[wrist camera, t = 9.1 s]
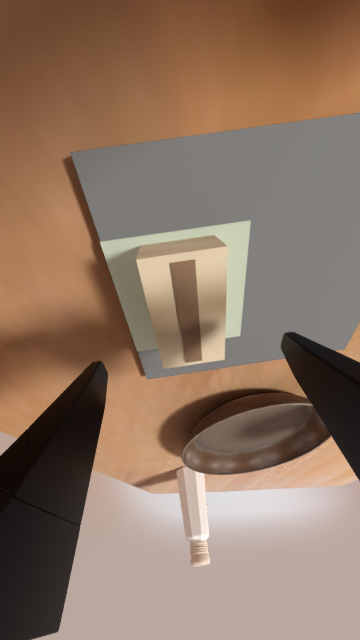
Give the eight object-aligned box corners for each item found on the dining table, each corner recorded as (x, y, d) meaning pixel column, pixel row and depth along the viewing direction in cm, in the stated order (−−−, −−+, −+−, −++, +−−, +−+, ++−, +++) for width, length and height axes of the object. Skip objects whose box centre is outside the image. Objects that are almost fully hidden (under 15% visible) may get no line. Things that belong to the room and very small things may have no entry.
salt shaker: (208, 464, 35) (225, 560, 26) (199, 475, 38) (212, 565, 29) (180, 464, 34) (188, 565, 25) (172, 475, 36) (177, 570, 27)
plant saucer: (320, 431, 32) (335, 454, 29) (206, 463, 35) (210, 486, 33) (321, 355, 21) (346, 380, 18) (153, 413, 24) (152, 442, 21)
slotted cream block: (215, 335, 16) (225, 360, 14) (162, 343, 16) (163, 370, 14) (214, 234, 11) (228, 246, 9) (140, 245, 11) (135, 260, 9)
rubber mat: (464, 100, 10) (485, 95, 9) (340, 345, 19) (346, 350, 19) (74, 154, 9) (68, 151, 9) (147, 374, 19) (147, 380, 19)
